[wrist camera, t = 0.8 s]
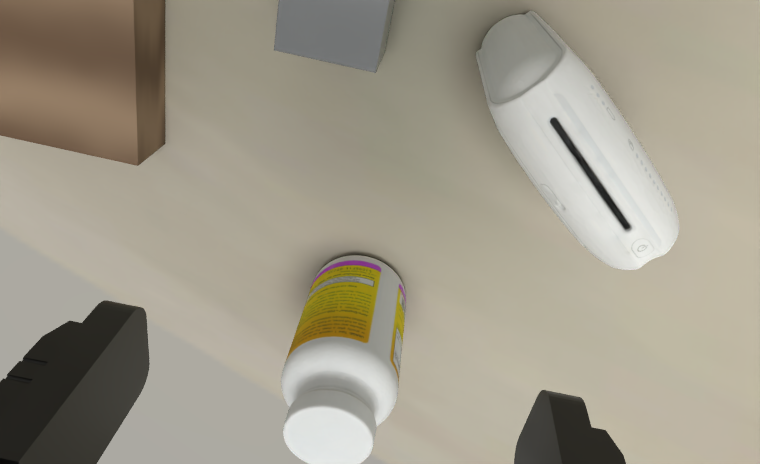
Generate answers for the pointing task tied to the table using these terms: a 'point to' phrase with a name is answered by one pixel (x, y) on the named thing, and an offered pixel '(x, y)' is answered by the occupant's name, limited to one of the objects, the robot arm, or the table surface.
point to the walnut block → (84, 75)
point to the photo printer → (575, 144)
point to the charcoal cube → (335, 30)
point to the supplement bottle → (344, 361)
